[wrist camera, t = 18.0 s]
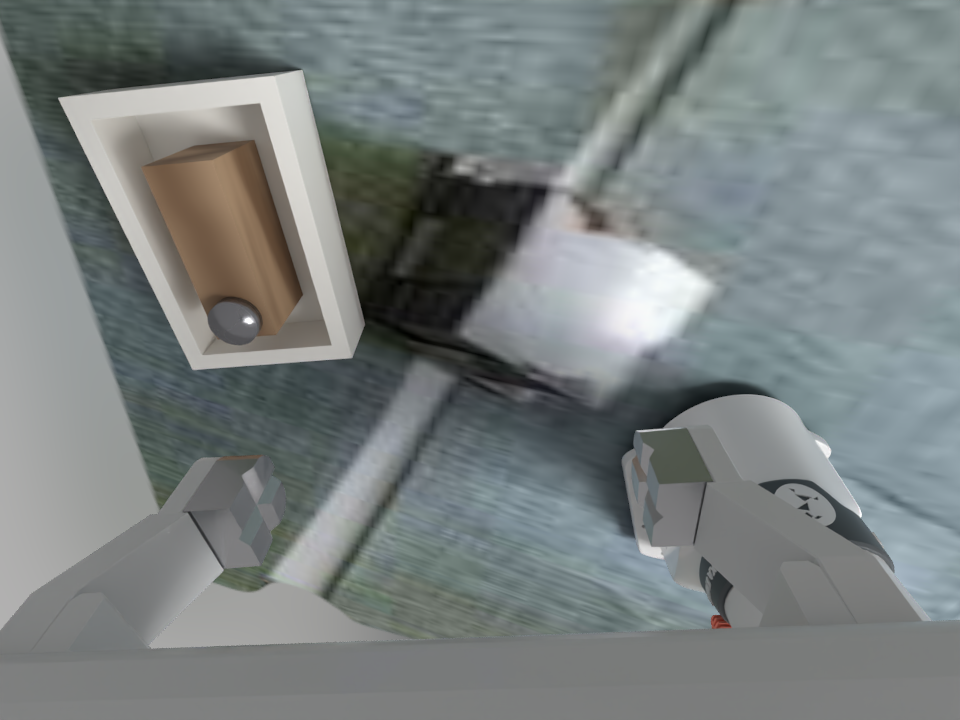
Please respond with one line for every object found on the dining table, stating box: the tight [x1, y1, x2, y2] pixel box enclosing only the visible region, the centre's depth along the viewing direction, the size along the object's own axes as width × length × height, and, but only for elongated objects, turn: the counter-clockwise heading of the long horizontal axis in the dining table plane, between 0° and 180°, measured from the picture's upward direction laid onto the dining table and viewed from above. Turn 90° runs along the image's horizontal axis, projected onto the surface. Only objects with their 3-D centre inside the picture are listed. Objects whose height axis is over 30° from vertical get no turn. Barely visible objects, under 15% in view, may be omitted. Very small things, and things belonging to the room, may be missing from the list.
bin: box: [58, 70, 365, 370], centre depth 34 cm, size 18×12×5 cm, turn 5°
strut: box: [141, 140, 303, 345], centre depth 32 cm, size 4×11×7 cm, turn 5°
